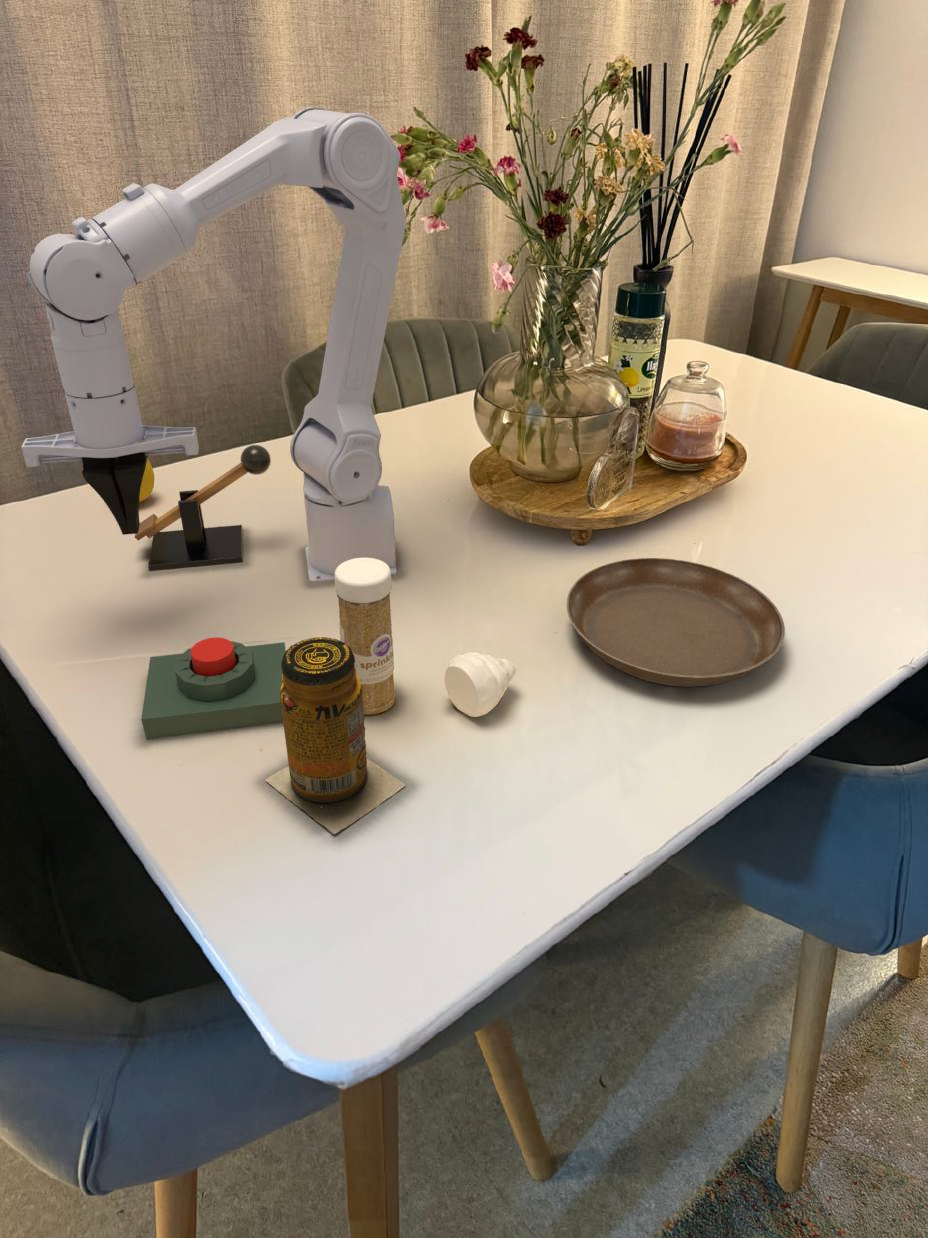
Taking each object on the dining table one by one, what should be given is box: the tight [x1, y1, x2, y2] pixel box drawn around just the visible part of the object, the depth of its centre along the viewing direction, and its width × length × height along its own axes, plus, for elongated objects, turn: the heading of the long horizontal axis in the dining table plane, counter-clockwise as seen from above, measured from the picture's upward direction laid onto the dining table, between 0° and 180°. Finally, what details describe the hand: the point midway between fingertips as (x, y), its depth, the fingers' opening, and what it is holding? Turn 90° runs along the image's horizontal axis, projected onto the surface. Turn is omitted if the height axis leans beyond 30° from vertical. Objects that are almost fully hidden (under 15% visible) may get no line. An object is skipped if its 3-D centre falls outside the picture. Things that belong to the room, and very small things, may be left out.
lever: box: [134, 444, 272, 541], centre depth 98 cm, size 17×3×3 cm
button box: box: [141, 640, 287, 740], centre depth 78 cm, size 12×9×4 cm
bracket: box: [147, 489, 244, 572], centre depth 99 cm, size 10×8×7 cm
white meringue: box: [444, 651, 517, 718], centre depth 77 cm, size 6×6×6 cm
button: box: [190, 636, 236, 677], centre depth 76 cm, size 4×4×2 cm
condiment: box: [265, 636, 407, 835], centre depth 66 cm, size 7×8×12 cm
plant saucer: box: [566, 557, 786, 688], centre depth 86 cm, size 21×21×3 cm
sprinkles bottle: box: [334, 558, 397, 715], centre depth 75 cm, size 5×5×14 cm
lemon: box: [139, 458, 155, 505], centre depth 109 cm, size 6×6×8 cm
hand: (131, 529), depth 83 cm, fingers closed
